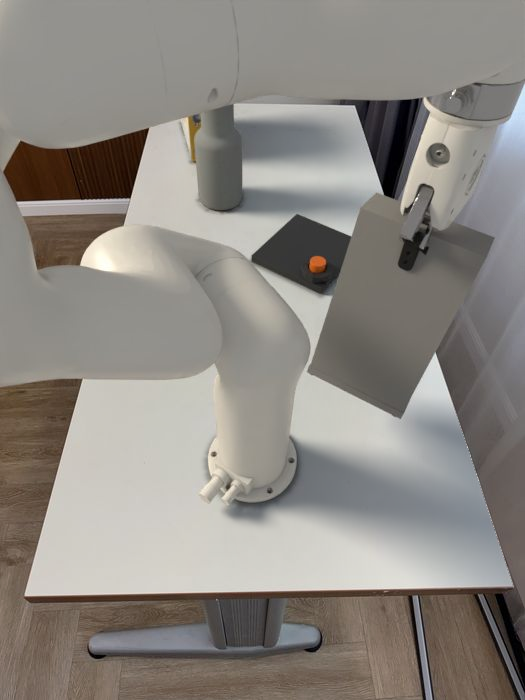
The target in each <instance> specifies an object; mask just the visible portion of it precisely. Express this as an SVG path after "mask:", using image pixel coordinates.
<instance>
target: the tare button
mask: <svg viewBox="0 0 525 700" xmlns="http://www.w3.org/2000/svg"><path fill="white" fill-rule="evenodd" d="M325 267H326V260H325V259H324V258H323V257H321V256H314V257H312V258H311V259H310V265H309V269H310V271H312V272H314V273H322V272H324V271H325Z"/></svg>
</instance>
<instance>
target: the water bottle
mask: <svg viewBox="0 0 525 700" xmlns="http://www.w3.org/2000/svg"><path fill="white" fill-rule="evenodd" d="M234 112H235V104H232V105H228V106H225V107H221V108H217V109H214V110H210V111H207V112H203V113H200V115H201V118H199V119H197V118H196V117H195V115H192V116H191V118H192V120H193V121H194V122H195V123H200V122H201V128H200V129H199V130H198V131H197V133H196V134H195V138H194V144H195V157H196V161H195V168H196V180H197V192H198V199H199V202H200V203H201V204H202V205H203V206H204V207H206V208H208V209H211V210H214V211H227V210H231V209H233V208H235V207H237V206H238V205H240V203H241V202H242V200H243V136H242V134H241V132H240V131H239V130H238V129H237V128H236V127H235V113H234Z"/></svg>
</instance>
